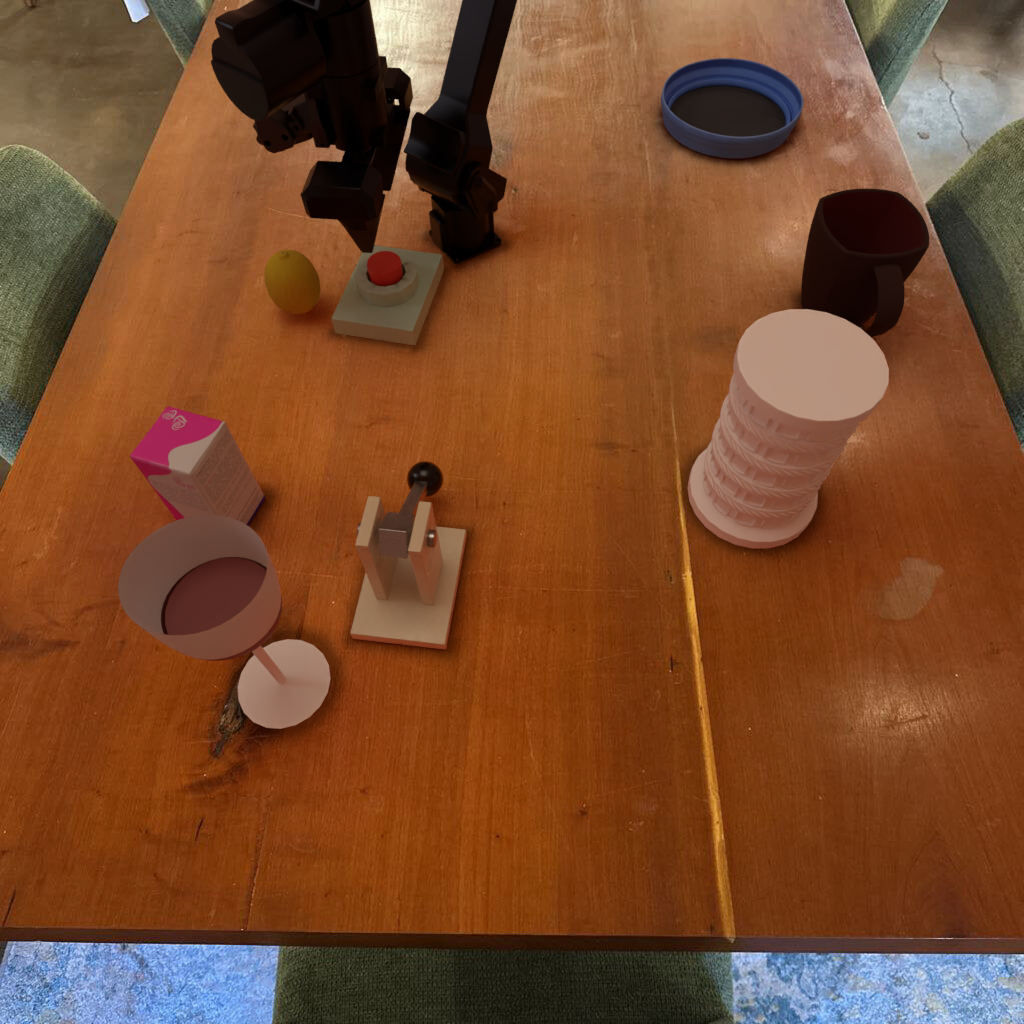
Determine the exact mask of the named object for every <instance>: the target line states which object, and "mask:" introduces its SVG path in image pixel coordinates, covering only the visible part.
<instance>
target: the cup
mask: <svg viewBox="0 0 1024 1024" xmlns="http://www.w3.org/2000/svg"><path fill="white" fill-rule="evenodd" d="M808 232H809V233H808V237H807V241H806V248H805V254H804V260H803V267H802V276H801V285H800V286H801V288H800V289H801V290H800V291H801V292H800V295H801V296H800V298H801V299H800V305H801V306H800V307H801V309H809V310H815V311H821V312H827V313H829V314H832V315H835V316H838V317H840V318H843V319H845V320H847V321H849V322H851V323H852V324H854V325H856V326H858V327H859V328H861V329H862V330H863V331H864V332H865V333H867V334H868V335H869V336H870V337H871V338H873V337H877V336H878V337H879V336H881V335H884V334H886V333H888V332H889V331H891V330H892V329H893V328H894V327H895V326H897V324H898V323H899V320H900V318H901V315H902V313H903V309H904V304H905V294H906V293H905V282H906V281H907V280H908V278H909V277H910V276H911V274H912V273H913V272H914V271H915V269H916V268H917V266H918V265H919V263H920V262H921V260H922V259H923V257H924V255H925V254H926V253H927V250H928V249H929V247H930V233H929V229H928V225H927V222H926V220H925V218H924V217H923V215H922V213H921V212H920V210H919V209H918V208H917V207H916V206H915V205H914V204H913V203H912V201H911V200H910V199H908V198H907V197H906V196H904V195H903V194H901V193H900V192H898V191H895V190H888V189H883V188H882V189H881V188H852V189H851V188H850V189H844V190H840V191H835V192H832V193H829V194H827V195H825V196H822V197H820V198H819V200H818V202H817V205H816V208H815V209H814V214H813V218H812V220H811V224H810V228H809V231H808ZM872 317H874V319H873V321H872V323H871V325H870V326H869V327H868V329H864V328H863V327H862V326H863V325H864V324H865V323H867V322H868V321H869V320H870V319H871V318H872Z"/></svg>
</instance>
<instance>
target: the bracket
mask: <svg viewBox="0 0 1024 1024" xmlns="http://www.w3.org/2000/svg"><path fill="white" fill-rule="evenodd" d="M386 514H387V513H386V511H385V508H384V504H383V501H382V498H381V496H375V495H373V496H372V495H368V496H367V499H366V502H365V506H364V510H363V513H362V516H361V517H362V518H361V520H360V521H359V522H358V524H357V529H356V539H355V543H354V546H355V548H356V551H357V554H358V556H359V559H360V561H361V563H362V566H363V569H364V571H365V573H364V577H363V581H362V585H361V589H360V592H359V597H358V601H357V605H356V609H355V613H354V617H353V620H352V623H351V624H352V625H351V628H350V631H349V632H350V636H351V638H352V639H353V640H359V641H369V642H377V643H378V642H379V643H386V644H394V645H395V644H396V645H402V646H403V645H404V646H411V647H420V648H427V649H428V648H429V649H437V650H447V647H448V641H449V637H450V632H451V631H450V630H451V625H452V621H453V614H454V608H455V603H456V598H457V592H458V586H459V581H460V576H461V569H462V565H463V559H464V553H465V547H466V543H467V537H468V535H467V534H468V533H467V529H465V528H464V529H463V528H454V527H447V526H437V524H436V518H435V514H434V508H433V503H432V501H431V502H430V501H424V500H423V501H419V504H418V508H417V513H416V517H415V522H414V526H413V530H412V535H411V539H410V544H409V548H408V552H409V555H408V557H407V559H405V558H396V557H387V556H379V537H378V529H379V527H380V525H381V523H382V521H383V519H384V518H385V516H386Z"/></svg>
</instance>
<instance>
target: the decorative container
mask: <svg viewBox="0 0 1024 1024" xmlns="http://www.w3.org/2000/svg"><path fill="white" fill-rule="evenodd" d="M732 370H733V374H732V376H731V379H730V382H729V385H728V386H729V387H728V393H727V395H726V396H725V398H724V400H723V401H722V405H721V408H720V413H719V418H718V419H717V422H716V423H715V425H714V427H713V431H712V435H711V440H710V442H709V444H708V445H707V447H706V448H705V449H704V450H703V451H702V452H701V453H699V455H698V456H697V458H696V459H695V461H694V463H693V465H692V467H691V469H690V473H689V475H688V476H689V477H688V482H687V488H686V489H687V495H688V501H689V504H690V506H691V509H692V510H693V512H694V515H695V516H696V518H697V519H698V520H699V521H700V523H701V524H702V525H703V526H704V528H706V529H707V530H709V532H711V533H712V534H713V535H715V536H716V537H718V538H719V539H721V540H723V541H726V542H728V543H730V544H732V545H734V546H739V547H744V548H748V549H772V548H775V547H780V546H784V545H786V544H788V543H790V542H792V541H793V540H795V539H797V538H798V537H799V536H800V535H801V534H802V533H803V532H804V531H805V530H806V528H807V527H808V526H809V525H810V523H811V521H812V520H813V517H814V515H815V513H816V510H817V508H818V499H819V490H820V489H821V485H823V483H824V481H826V480H827V479H828V476H830V474H831V470H832V469H833V467H834V463H836V462H837V460H838V459H839V458H841V455H842V453H844V451H845V447H846V446H847V445H848V440H849V439H850V438H851V437H852V436H853V434H855V433H856V431H857V428H859V427H860V423H862V422H863V421H865V420H866V419H867V418H868V417H869V416H870V415H871V414H872V413H873V412H874V411H875V410H876V409H877V407H878V406H879V404H880V403H881V401H882V399H883V398H884V396H885V394H886V391H887V389H888V387H889V383H890V368H889V366H888V361H887V359H886V356H885V353H884V352H883V351H882V349H881V348H880V346H879V345H878V343H877V342H876V341H875V340H874V339H873V337H870V336H869V335H868V334H867V333H865V332H864V331H863V330H862V329H861V328H859V327H858V326H856V325H854V324H852V323H851V322H849V321H847V320H845V319H843V318H840V317H838V316H835V315H832V314H829V313H827V312H821V311H815V310H809V309H802V308H791V309H789V308H788V309H785V310H780V311H779V310H778V311H775V312H771V313H769V314H767V315H764V316H762V317H760V318H758V319H756V320H755V321H754V322H753V323H752V324H750V325H749V326H748V327H747V328H746V329H745V331H744V332H743V334H742V336H741V338H740V339H739V341H738V344H737V346H736V350H735V353H734V357H733V363H732Z"/></svg>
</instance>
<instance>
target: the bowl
mask: <svg viewBox="0 0 1024 1024" xmlns="http://www.w3.org/2000/svg"><path fill="white" fill-rule="evenodd" d="M804 103H805V102H804V96H803V93H802V91H801V89H800V88H799V86H798V85H797V84H796V83H795V82H794V81H793V80H792V79H791V78H790V77H788V76H787V75H785V74H784V73H783V72H782V71H779V70H777V69H776V68H774V67H771V66H769V65H766V64H764V63H761V62H758V61H753V60H750V59H743V58H733V57H719V58H709V59H702V60H699V61H694V62H692V63H688V64H686V65H684V66H681V67H679V68H678V69H676V70H675V71H673V73H671V74H670V75H669V76H668V77H667V78H666V80H665V82H664V84H663V87H662V91H661V94H660V106H661V111H662V120H663V124H664V127H665V128H666V130H667V132H668V133H669V134H670V136H671V137H673V138H674V139H675V140H676V141H677V142H678V143H680V144H681V145H683V146H684V147H686V148H688V149H690V150H693V151H694V152H698V153H700V154H702V155H707V156H710V157H715V158H721V159H748V158H753V157H759V156H762V155H765V154H768V153H770V152H772V151H773V150H776V149H777V148H779V147H780V146H781V145H783V144H784V143H785V142H786V141H787V139H788V138H789V137H790V135H791V133H792V131H793V130H794V129H795V127H796V125H797V124H798V122H799V120H800V118H801V117H802V114H803V113H802V112H803V109H804Z"/></svg>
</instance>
